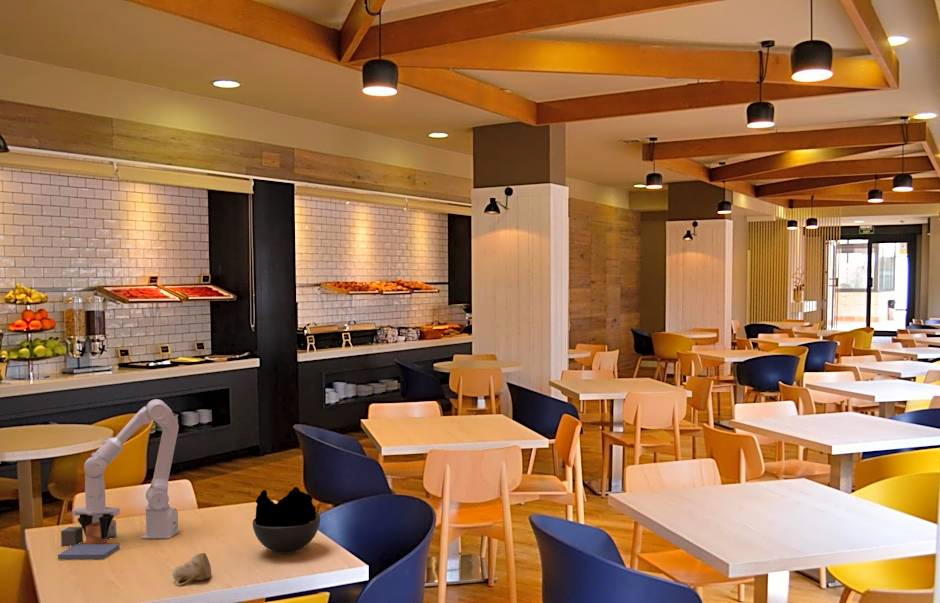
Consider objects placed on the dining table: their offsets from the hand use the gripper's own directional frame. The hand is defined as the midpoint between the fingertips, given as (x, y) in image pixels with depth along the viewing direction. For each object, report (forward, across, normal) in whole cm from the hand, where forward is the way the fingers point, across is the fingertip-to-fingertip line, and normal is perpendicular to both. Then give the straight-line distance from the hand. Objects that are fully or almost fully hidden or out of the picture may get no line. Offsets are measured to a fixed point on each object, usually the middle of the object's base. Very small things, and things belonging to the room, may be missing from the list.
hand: (96, 537), depth 259 cm
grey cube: (+2, 0, +7) cm, 7 cm away
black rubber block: (+2, -8, 0) cm, 8 cm away
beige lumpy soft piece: (+2, +44, -33) cm, 55 cm away
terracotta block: (+2, 0, 0) cm, 2 cm away
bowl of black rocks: (+2, +64, -9) cm, 65 cm away
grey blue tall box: (+2, -7, +13) cm, 15 cm away
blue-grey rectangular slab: (+2, +3, -10) cm, 11 cm away
